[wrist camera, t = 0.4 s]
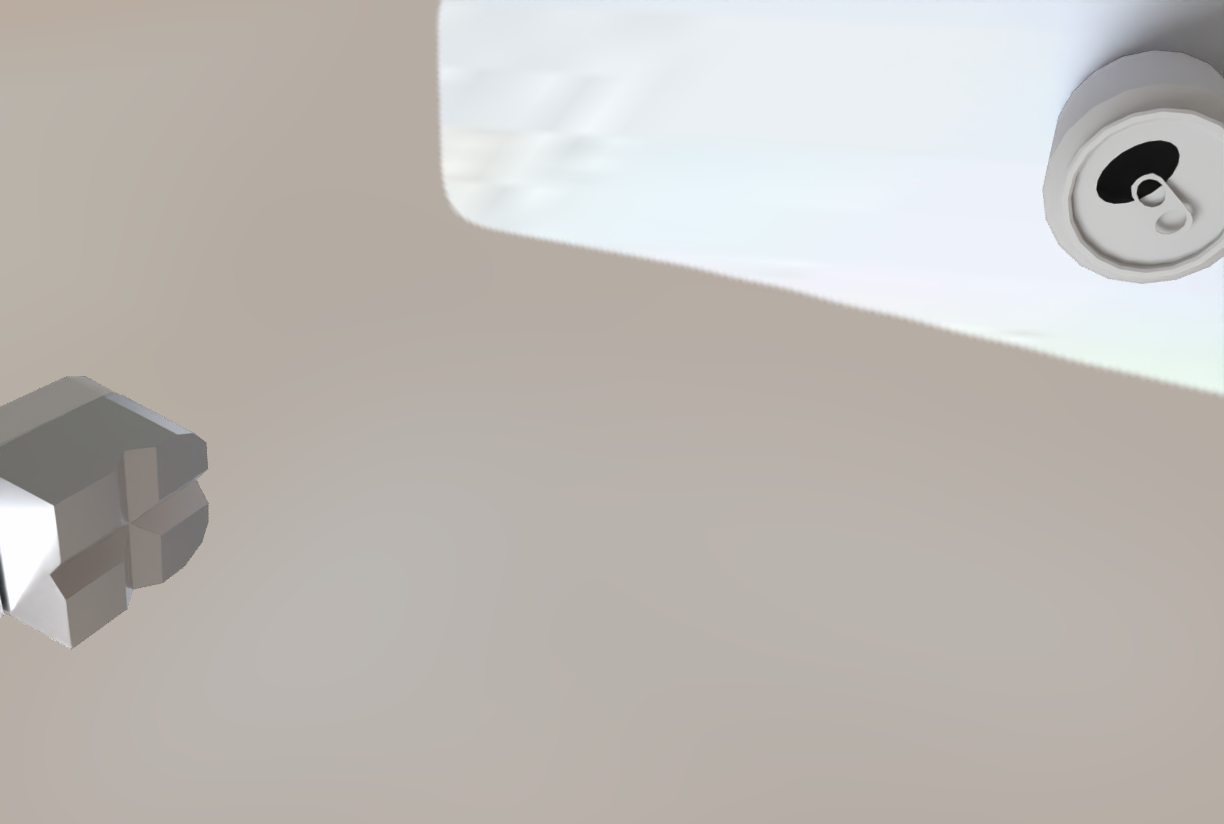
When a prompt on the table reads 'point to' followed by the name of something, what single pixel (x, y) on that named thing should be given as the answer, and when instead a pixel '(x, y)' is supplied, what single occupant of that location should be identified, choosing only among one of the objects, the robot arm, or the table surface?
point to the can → (1140, 169)
